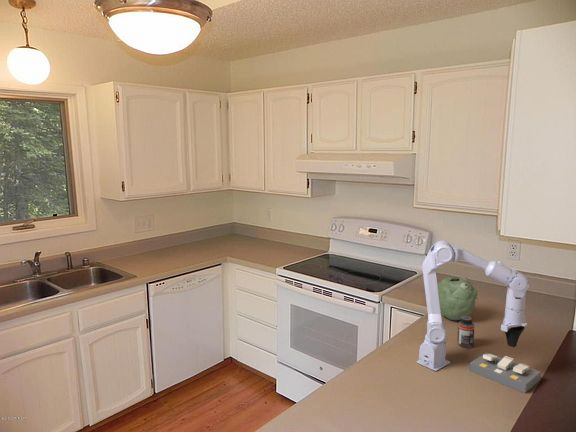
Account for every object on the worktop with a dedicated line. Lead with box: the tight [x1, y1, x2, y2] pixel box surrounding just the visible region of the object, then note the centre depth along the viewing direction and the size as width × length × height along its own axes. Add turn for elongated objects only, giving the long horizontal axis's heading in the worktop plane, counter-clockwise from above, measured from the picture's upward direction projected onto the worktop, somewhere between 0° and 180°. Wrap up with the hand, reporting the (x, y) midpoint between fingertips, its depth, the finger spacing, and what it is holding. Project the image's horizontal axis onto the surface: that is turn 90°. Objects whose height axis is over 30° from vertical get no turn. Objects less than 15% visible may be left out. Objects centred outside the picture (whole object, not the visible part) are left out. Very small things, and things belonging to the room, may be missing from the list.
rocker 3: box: [513, 362, 531, 374], centre depth 137 cm, size 6×3×1 cm, turn 129°
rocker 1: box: [482, 353, 499, 361], centre depth 145 cm, size 6×3×1 cm, turn 130°
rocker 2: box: [497, 355, 515, 370], centre depth 141 cm, size 6×3×1 cm, turn 129°
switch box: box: [469, 351, 542, 394], centre depth 141 cm, size 12×18×5 cm, turn 39°
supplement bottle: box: [457, 315, 475, 349], centre depth 163 cm, size 6×6×11 cm
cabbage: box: [437, 276, 478, 321], centre depth 189 cm, size 16×19×20 cm
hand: (511, 346), depth 142 cm, fingers closed
